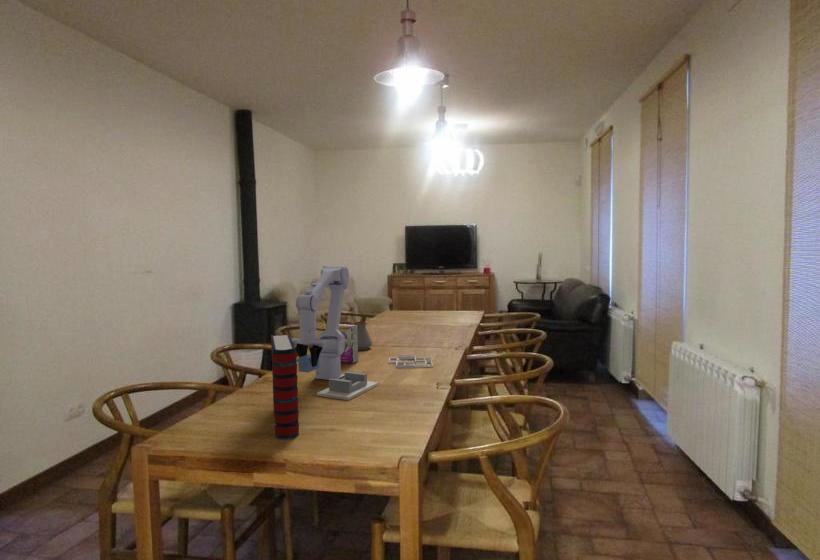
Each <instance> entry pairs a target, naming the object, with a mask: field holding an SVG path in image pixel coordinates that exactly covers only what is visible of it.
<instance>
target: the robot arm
mask: <svg viewBox="0 0 820 560" xmlns="http://www.w3.org/2000/svg"><path fill="white" fill-rule="evenodd" d="M349 279H350V273H349V269H348V267H347V266H346V265H340V266H339V265H323V266H322V268H321V269H320V276H319V278H318V280H317V281H316V282H312V283H311V284H310V285H309V287H308V288H307V290H305V292H304V293H303V294H300V295H298V296H297V298H296V301H295V308H296V309H297V316H299V332H300V333H299V338H296V337H295V338H291V339H292V342H293V344H294V345H296V346H294V347H295V348H296V352H297V355H298V357H301V356H304V355H307V354H308V349H309V354H311V363H312V367H315V366H317V363H318V358H319V355H322V357H320V358H319V360H320V368H318V369H316V370H315V376H314V379H318V380H327V381H329V379H331V378H334V379H343V378H345V373H344V374H342V371H341V369H342V368H341V363H342V362H340V355H342V353H343V352H344V349H345V342H344V341H345V337H344V335H343V334H342V333H340V332H339V324H341V315H342V307H343V299H344V293H345V290H346V289H348V286H349ZM325 288H326V289H329V290H330V299H329V304H328V305H329V306H328V310H327V311H328V313H327V320H326V326H325V330H324V331H322V332H321V333H320V334H319V336H318V339H317V314H316V313H317V312H316V311H317V310H318V309H319V304H320V301H321V299H322V297H323V296H324V294H325V293H326V289H325ZM331 338H338V339H331ZM309 346H310V347H309Z"/></svg>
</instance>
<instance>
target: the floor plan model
mask: <svg viewBox="0 0 820 560" xmlns="http://www.w3.org/2000/svg"><path fill="white" fill-rule="evenodd" d="M401 360H403V361H401ZM405 360H406V361H405ZM407 360H408V361H407ZM416 363H424V364H416ZM427 364H428V365H427ZM388 365H395V368H396V369H427V368H428V369H432V368H434V365H433V361H432V357H416V355H415V354H398V357H388Z"/></svg>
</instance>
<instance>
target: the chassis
mask: <svg viewBox="0 0 820 560" xmlns="http://www.w3.org/2000/svg"><path fill="white" fill-rule="evenodd" d="M344 375H345V376H344V377H343V378H339V379H334V378H331V379H329V380H328V387H326V388H325V389H323V390H320V391H318V392H317V393H316V396H318V397H324V398H330V399H338V400H343V401H344V400H345V401H351V400H353V399H354V398H356V397H358V396H360V395H362V394H364V393H366V392H367V391H370V390H371V389H373V388H375V387H377V386H379V382H377V381H376V382H375V381H370V380H368V374H367V373H362V372H354V371H346V372H344Z"/></svg>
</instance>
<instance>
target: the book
mask: <svg viewBox="0 0 820 560" xmlns="http://www.w3.org/2000/svg"><path fill="white" fill-rule="evenodd" d="M291 336H292V335H291V334H290V333H287V334H285V335H284V334H283V335H273V334H270V341H271V342H270V343H271V344H270V345H271V347H270V348H271V349H270V350H271V370H272V373H271V374H272V376H271V377H272V398H273V399H272V400H273V403H272V405H273V417H274V424H275V425H274V426H273V428H274V434H275V438H276V439H278V440H290V439H294V438H296V437H299V436H300V435H299V434H300V422H299V418H300V417H299V416H300V415H299V413H300V412H299V398H298V394H299V393H298V392H299V387H298V374H297V373H298V362H296V360H297V358H298V357H297V355H298V353H297V352H296V348H295V347H296V346H295V344H293V342H292V339H293V338H292V337H291Z"/></svg>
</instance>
